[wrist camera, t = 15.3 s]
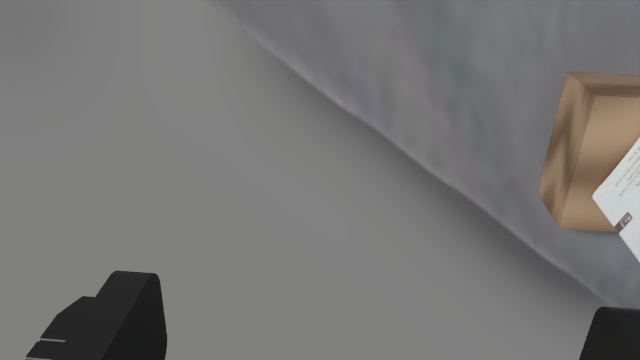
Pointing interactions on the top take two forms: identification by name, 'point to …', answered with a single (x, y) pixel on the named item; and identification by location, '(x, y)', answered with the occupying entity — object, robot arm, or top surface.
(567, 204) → the light brown block
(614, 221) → the skincare box
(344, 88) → the top surface
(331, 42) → the top surface
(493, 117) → the top surface
